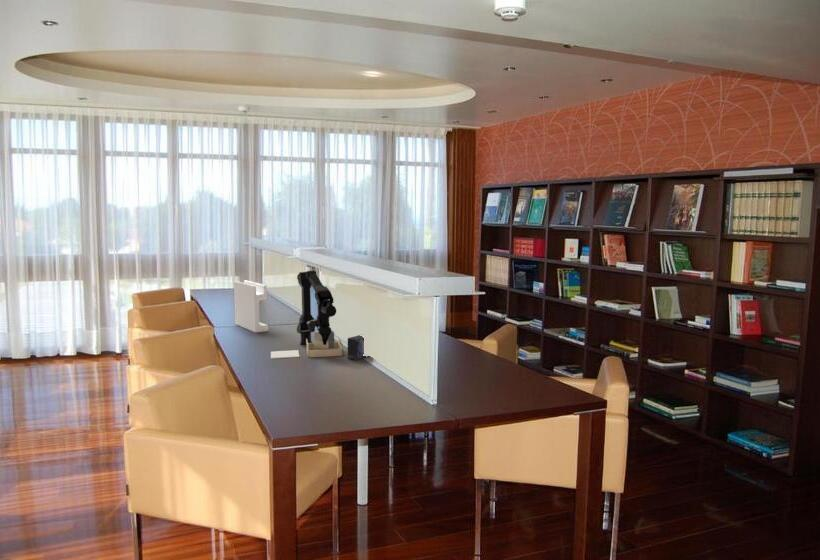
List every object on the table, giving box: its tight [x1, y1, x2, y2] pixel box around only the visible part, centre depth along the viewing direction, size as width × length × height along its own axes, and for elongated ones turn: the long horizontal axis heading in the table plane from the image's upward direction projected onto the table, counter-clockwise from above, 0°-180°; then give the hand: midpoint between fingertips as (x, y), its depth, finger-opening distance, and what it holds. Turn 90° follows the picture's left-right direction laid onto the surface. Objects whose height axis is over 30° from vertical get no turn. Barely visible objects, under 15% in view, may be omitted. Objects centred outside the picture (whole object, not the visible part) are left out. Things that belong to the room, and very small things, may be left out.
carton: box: [305, 337, 344, 358], centre depth 327 cm, size 17×17×6 cm
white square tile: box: [270, 349, 300, 360], centre depth 323 cm, size 14×14×1 cm
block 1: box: [233, 279, 269, 334], centre depth 396 cm, size 35×8×28 cm, turn 35°
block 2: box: [313, 330, 335, 350], centre depth 327 cm, size 5×10×8 cm, turn 102°
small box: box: [347, 334, 367, 361], centre depth 316 cm, size 11×6×10 cm, turn 143°
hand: (324, 343), depth 327 cm, fingers closed on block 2, 5 cm apart
